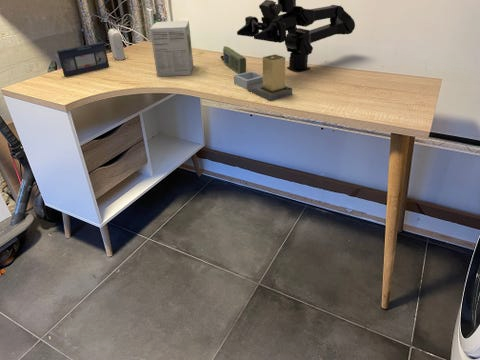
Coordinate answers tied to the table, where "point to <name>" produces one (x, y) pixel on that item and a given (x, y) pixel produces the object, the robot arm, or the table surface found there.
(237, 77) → the parts tray
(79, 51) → the vhs cassette tape
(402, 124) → the table surface
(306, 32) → the robot arm
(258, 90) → the grey holder tray
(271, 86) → the brass tower with button
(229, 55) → the handheld radio
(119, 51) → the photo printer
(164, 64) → the supplement box
